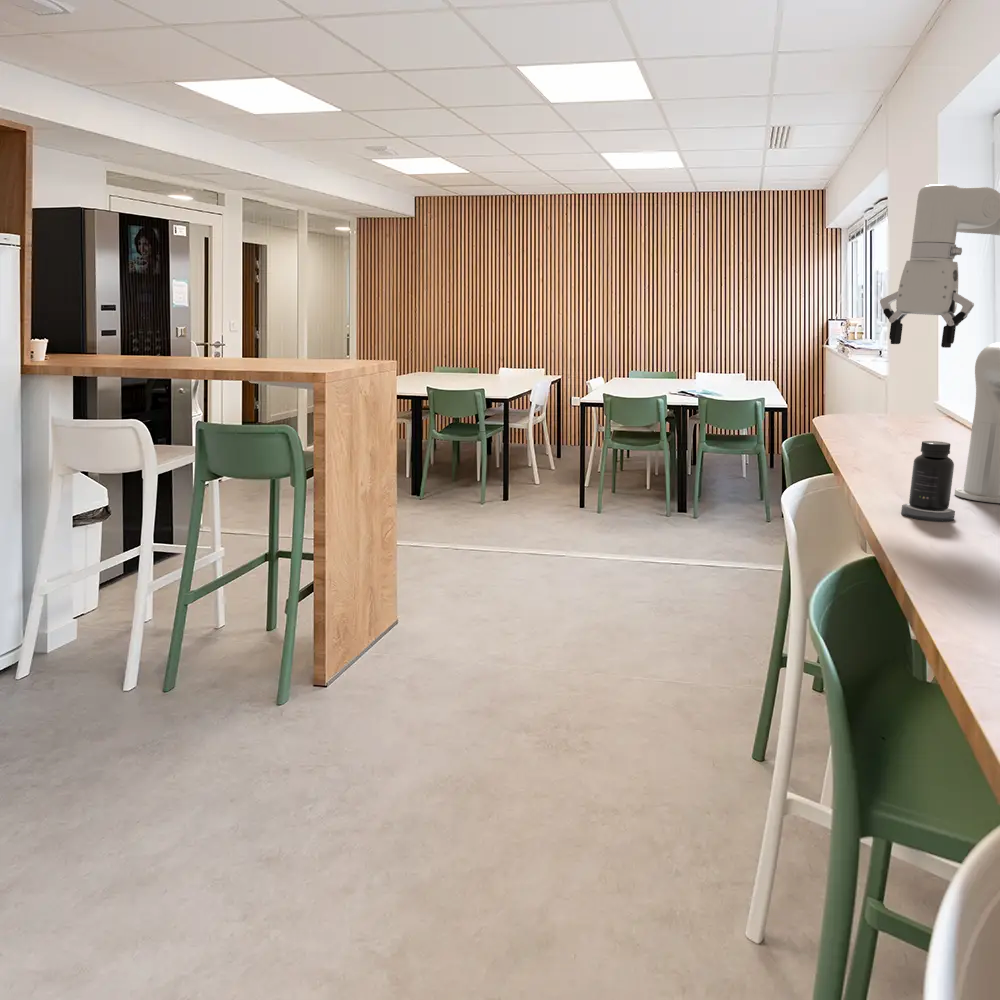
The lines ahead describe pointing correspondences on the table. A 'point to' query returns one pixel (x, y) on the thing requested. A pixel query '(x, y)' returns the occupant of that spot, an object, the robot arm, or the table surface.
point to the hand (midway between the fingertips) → (920, 345)
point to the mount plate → (928, 514)
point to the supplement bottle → (932, 477)
